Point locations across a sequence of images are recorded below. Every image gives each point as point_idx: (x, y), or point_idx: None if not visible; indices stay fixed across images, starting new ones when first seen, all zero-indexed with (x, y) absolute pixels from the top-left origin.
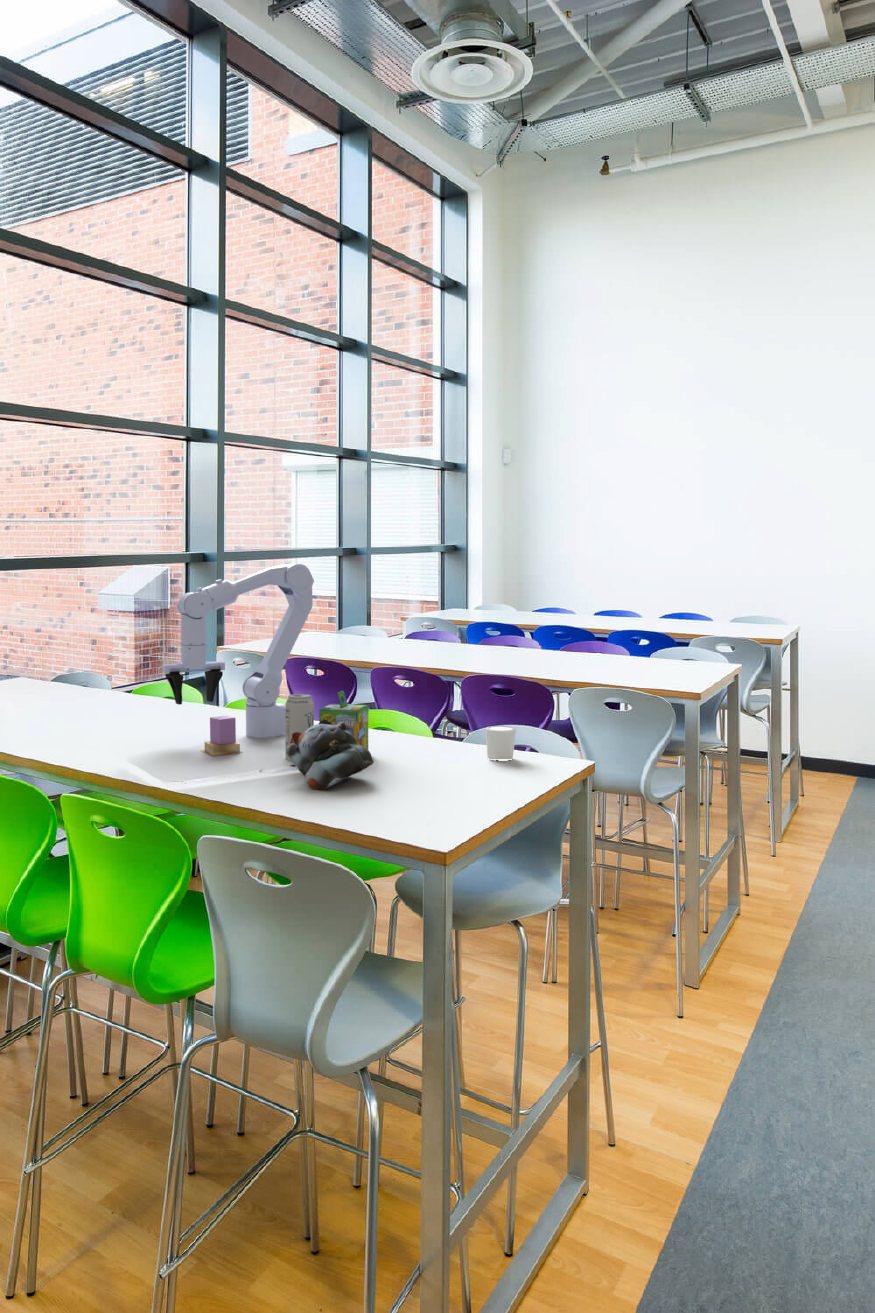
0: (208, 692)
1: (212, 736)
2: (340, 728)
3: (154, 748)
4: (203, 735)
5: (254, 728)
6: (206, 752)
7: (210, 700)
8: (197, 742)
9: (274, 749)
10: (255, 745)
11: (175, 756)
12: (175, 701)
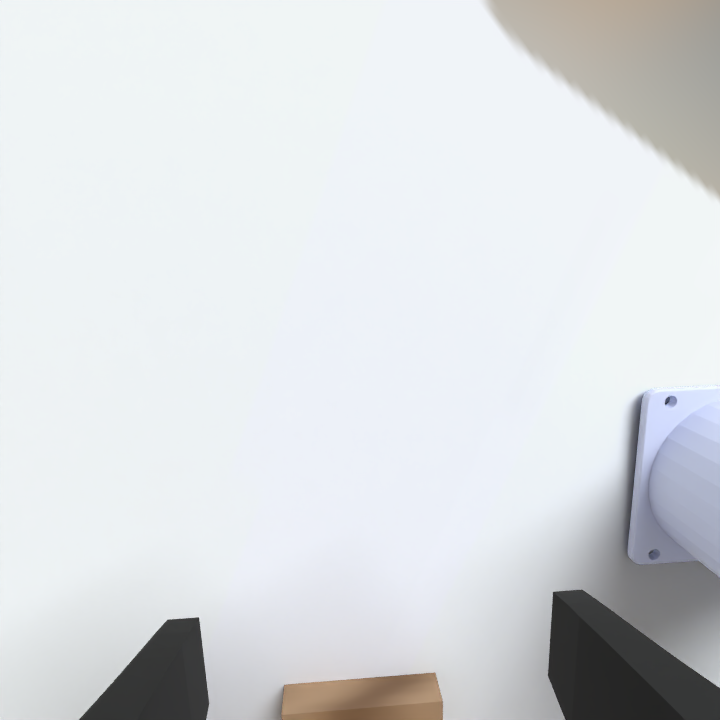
0: (613, 714)
1: None
2: None
3: (133, 381)
4: (536, 137)
5: (714, 572)
6: None
7: (555, 688)
8: (411, 340)
9: None
10: (628, 564)
11: None
12: (152, 640)
